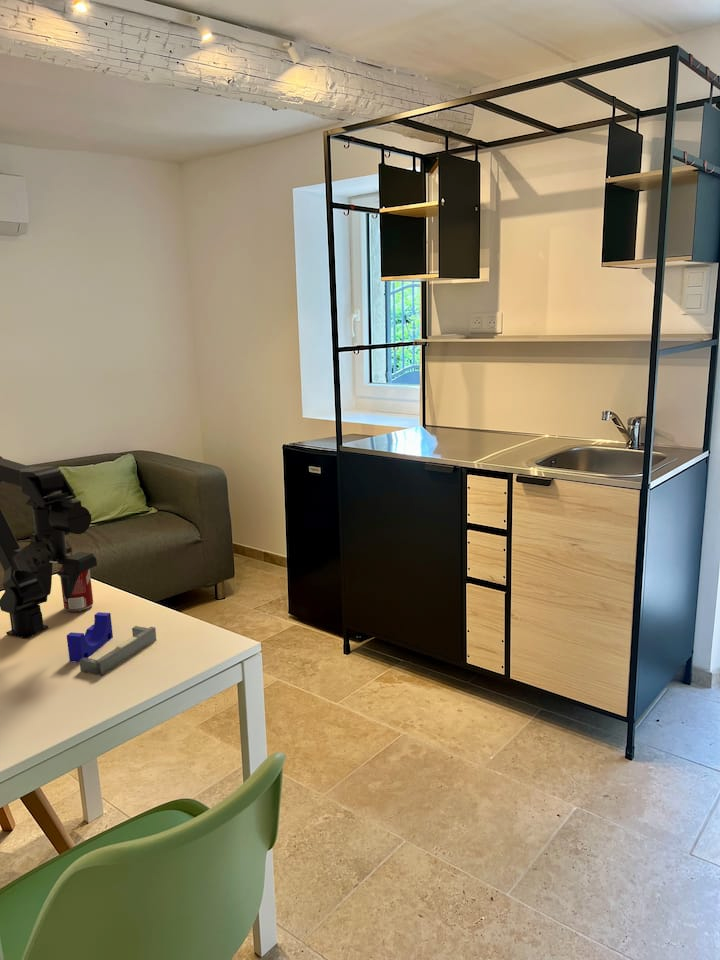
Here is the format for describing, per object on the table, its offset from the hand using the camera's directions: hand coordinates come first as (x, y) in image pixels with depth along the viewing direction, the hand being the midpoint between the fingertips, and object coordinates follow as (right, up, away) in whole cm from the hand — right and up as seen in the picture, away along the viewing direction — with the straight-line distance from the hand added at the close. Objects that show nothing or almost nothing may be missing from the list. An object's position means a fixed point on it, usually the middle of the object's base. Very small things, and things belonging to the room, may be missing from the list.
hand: (57, 596), depth 157 cm
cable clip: (+7, -12, 0) cm, 13 cm away
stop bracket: (+15, -12, -3) cm, 19 cm away
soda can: (-4, -6, +22) cm, 23 cm away
